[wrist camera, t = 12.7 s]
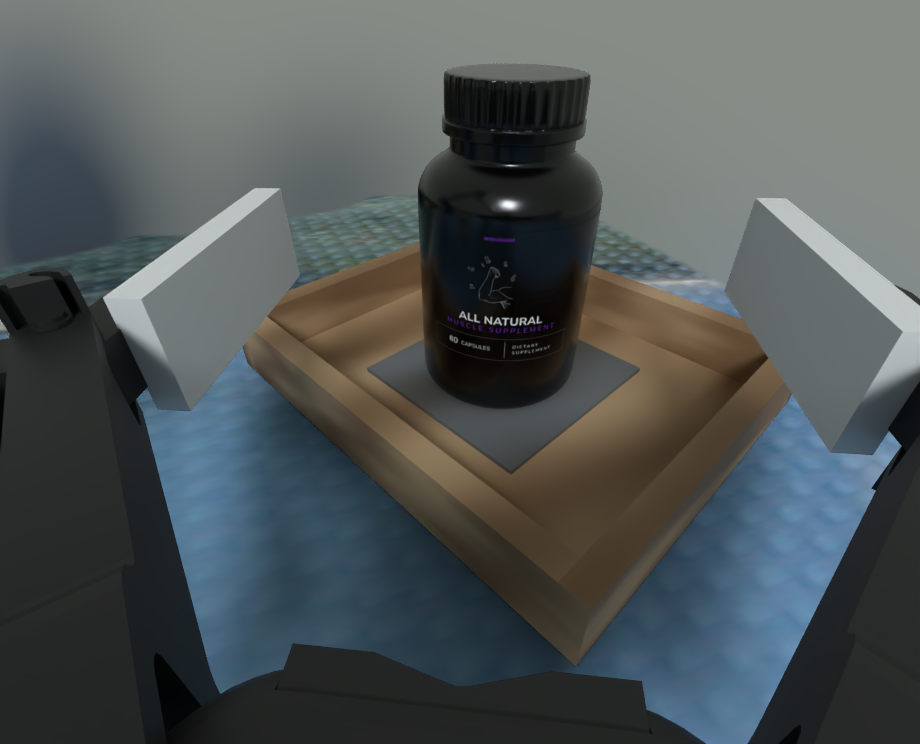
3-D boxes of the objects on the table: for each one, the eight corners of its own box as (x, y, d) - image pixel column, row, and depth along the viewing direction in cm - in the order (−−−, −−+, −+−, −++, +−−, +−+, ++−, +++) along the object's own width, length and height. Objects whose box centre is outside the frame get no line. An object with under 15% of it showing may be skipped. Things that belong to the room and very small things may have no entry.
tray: (248, 363, 26) (231, 312, 24) (472, 265, 34) (472, 222, 32) (575, 666, 14) (591, 610, 12) (788, 401, 23) (815, 345, 21)
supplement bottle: (472, 437, 20) (474, 92, 13) (402, 351, 25) (375, 66, 18) (605, 383, 23) (670, 73, 15) (519, 315, 27) (537, 55, 20)
